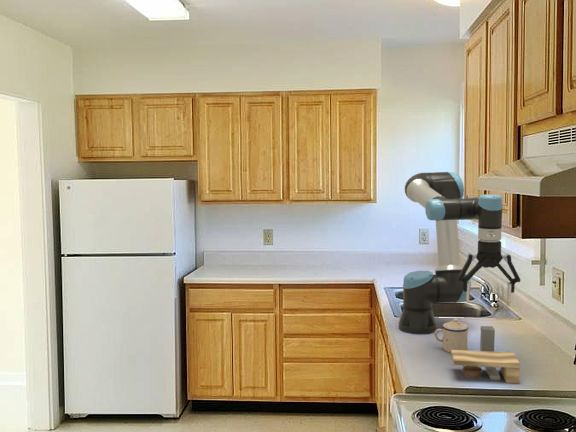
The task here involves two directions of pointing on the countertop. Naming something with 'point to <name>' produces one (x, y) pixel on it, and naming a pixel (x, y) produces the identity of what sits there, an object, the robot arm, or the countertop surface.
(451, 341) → the teacup with lid
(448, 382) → the countertop surface
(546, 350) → the countertop surface
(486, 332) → the gray l-shaped block
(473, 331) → the countertop surface
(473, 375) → the coaster
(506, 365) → the shelf
